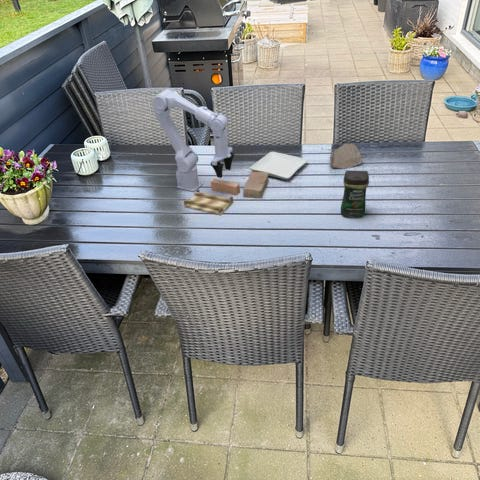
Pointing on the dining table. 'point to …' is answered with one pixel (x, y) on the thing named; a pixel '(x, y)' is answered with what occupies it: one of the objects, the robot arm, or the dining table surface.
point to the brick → (255, 185)
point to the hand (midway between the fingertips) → (224, 173)
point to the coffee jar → (354, 193)
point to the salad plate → (279, 165)
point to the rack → (208, 203)
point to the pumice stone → (346, 156)
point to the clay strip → (225, 187)
